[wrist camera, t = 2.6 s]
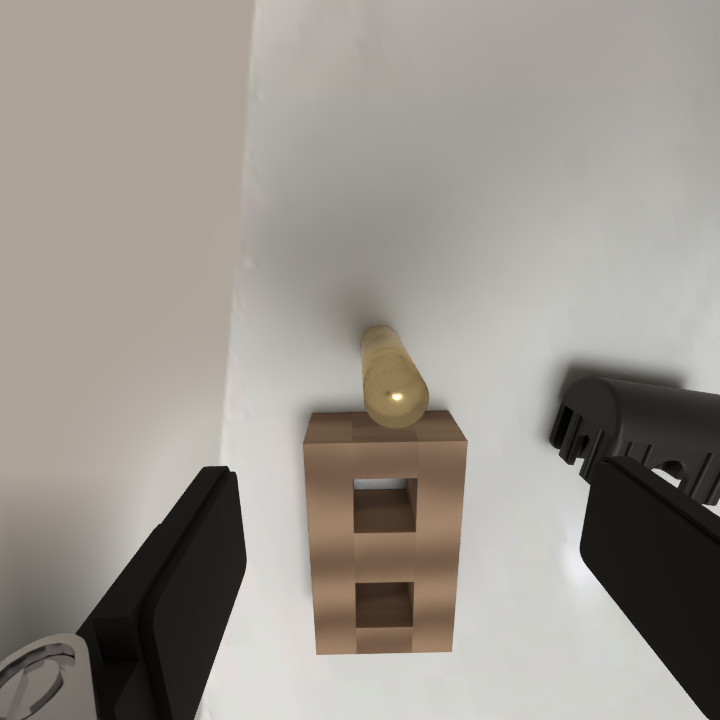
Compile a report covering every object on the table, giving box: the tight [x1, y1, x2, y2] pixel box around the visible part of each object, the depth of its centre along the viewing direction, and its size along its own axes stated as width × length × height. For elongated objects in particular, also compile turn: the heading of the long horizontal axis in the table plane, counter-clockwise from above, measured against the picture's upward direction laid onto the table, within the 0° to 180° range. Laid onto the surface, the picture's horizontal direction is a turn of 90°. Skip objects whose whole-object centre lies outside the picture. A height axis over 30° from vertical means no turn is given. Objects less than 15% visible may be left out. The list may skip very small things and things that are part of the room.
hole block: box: [303, 411, 468, 655], centre depth 28 cm, size 19×11×5 cm, turn 1°
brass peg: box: [361, 326, 429, 428], centre depth 21 cm, size 3×3×11 cm
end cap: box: [550, 376, 720, 506], centre depth 25 cm, size 10×7×7 cm
